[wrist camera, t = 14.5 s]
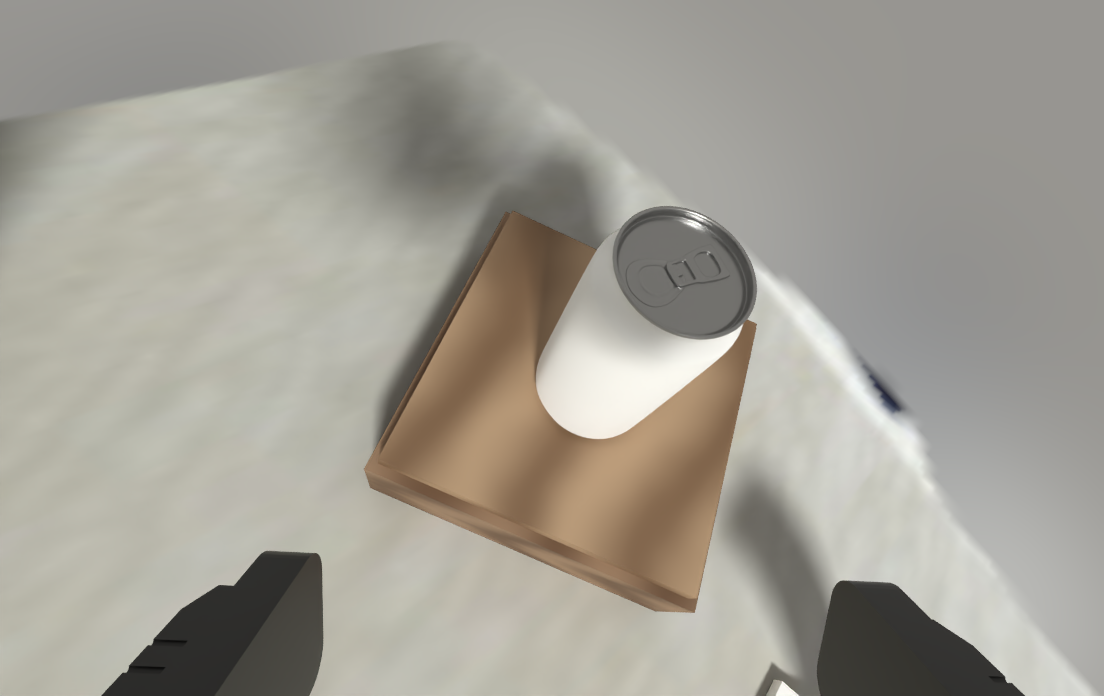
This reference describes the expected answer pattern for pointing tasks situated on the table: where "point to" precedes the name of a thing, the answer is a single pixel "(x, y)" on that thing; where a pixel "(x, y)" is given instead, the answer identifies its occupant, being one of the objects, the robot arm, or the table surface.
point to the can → (645, 320)
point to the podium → (558, 437)
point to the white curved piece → (780, 689)
